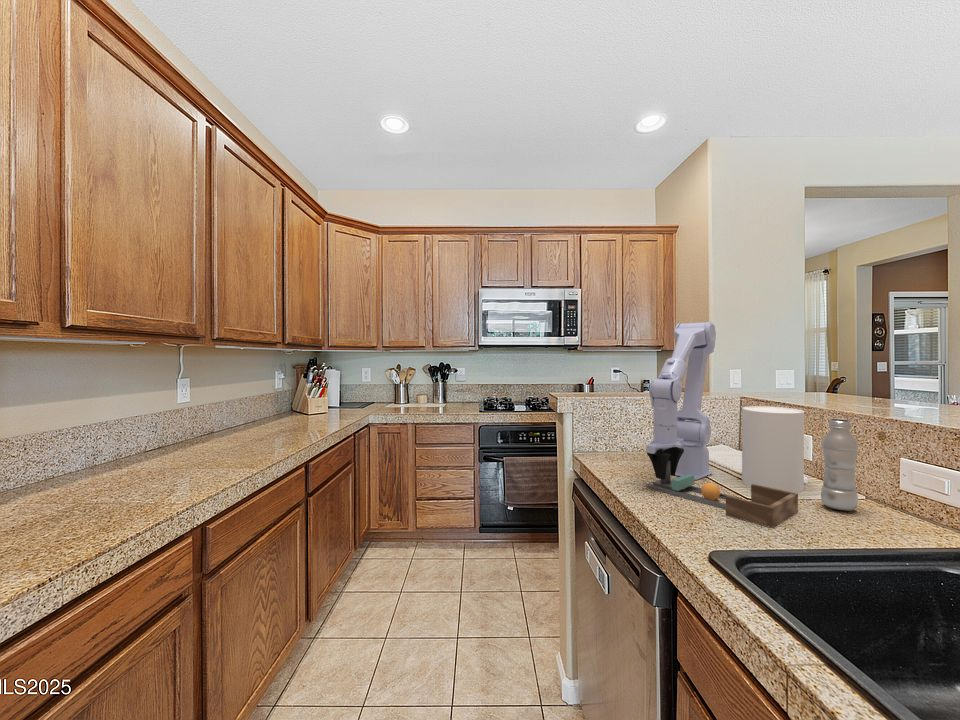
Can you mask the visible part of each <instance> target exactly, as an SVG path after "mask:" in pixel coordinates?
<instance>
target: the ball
mask: <svg viewBox="0 0 960 720" xmlns="http://www.w3.org/2000/svg"><path fill="white" fill-rule="evenodd" d="M700 488H701V492H702V493H701V495H702V496H703V498H706V499H710V500H714V501H716V500H718V499H719V498H718V497H719V496H720V493H721V490H720V488H719V486H718V485H717V484H715V483H714V482H713V483H712V482H707V483H706V482H705V483H704V484H703V485H702V486H701V487H700Z"/></svg>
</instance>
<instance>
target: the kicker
mask: <svg viewBox="0 0 960 720" xmlns="http://www.w3.org/2000/svg"><path fill="white" fill-rule="evenodd" d="M671 477H672V476H671V473H670V461H669V460H668V462H667V467H666V476H665V479H659V480H656V481H653V482H652V484H653V485H657V486H661V487H665V488H668V489H672V490H676V491H682V490H685V489H684V488H686V487H689V486H694V485H695V480H694V475H691V474H687V475H684V476H678V477H675V478H673V479H671Z"/></svg>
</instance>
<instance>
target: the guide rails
mask: <svg viewBox="0 0 960 720" xmlns="http://www.w3.org/2000/svg"><path fill="white" fill-rule="evenodd" d="M646 488H648V489H650V490H653V491H658V492H662V493H665V494H668V495H669V494H670V495H671V496H676V497H680V498H684V499H687V500H691V501H694V502H697V503H700V504H705V505H709V506H712V507H716V508H719V509H724V510H726V502H721V501H716V500H710V499H706V498H705V497H702V496H699V495H695V494H690V493H687V492H684V491H683V492H682V491H681V490H679V491H676V490H672V489H668V488H665V487H661V486H657V485H653V483H647V484H646ZM701 488H702V487H698V486H694V485H692V486H689V487H686V488H684V489H683V490H687V491H691V492H694V493H700V494H702V492H701ZM726 496H732V497H736V498H740V499H743V497H738V496H734V495H730V494H727V493H723V492H720V496H719V497H718V498H717V499H722V500H726Z"/></svg>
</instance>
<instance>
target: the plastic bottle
mask: <svg viewBox="0 0 960 720" xmlns="http://www.w3.org/2000/svg"><path fill="white" fill-rule="evenodd" d="M828 428H829V429H830V430H829V431H827V432H826V434H825V435H824V436H823V438H822V439H821V450H822V455H823V456H822V457H823V465H824V468H823V469H824V472H823V481H822V482H823V483H822V485H821V490H820V498H821V502H822V503H823V505H824V506H825V507H827V508H830V509H833V510H838V511H845V512H853V511H854V510H855V509H856V508H858V504H859V496H858V492H857V487H856V477H855V475H856V471H855V470H856V466H857V465H856V464H857V463H856V462H857V458H858V452H859V443H858V441H857V439H856V438H855V436H854V435H853V434H852V433H851V432H850V430H852V427H851V420H849V419H843V418H830V419H829V424H828Z"/></svg>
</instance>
